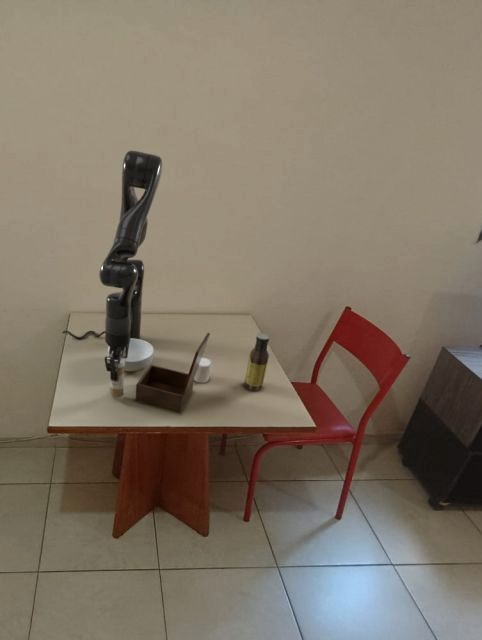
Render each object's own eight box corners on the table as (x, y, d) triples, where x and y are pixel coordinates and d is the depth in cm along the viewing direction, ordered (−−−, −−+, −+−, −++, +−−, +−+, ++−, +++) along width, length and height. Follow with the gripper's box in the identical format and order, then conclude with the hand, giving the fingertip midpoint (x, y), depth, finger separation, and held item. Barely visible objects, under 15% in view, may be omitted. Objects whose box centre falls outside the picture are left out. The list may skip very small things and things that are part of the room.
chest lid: (195, 351, 127) (198, 352, 127) (207, 332, 137) (210, 333, 137) (181, 394, 137) (183, 395, 137) (193, 373, 147) (195, 374, 147)
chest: (135, 401, 146) (136, 384, 142) (150, 380, 156) (151, 364, 152) (180, 413, 141) (182, 396, 137) (192, 391, 151) (194, 375, 147)
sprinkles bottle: (107, 394, 146) (107, 359, 138) (116, 388, 148) (116, 353, 141) (117, 400, 143) (118, 364, 136) (126, 394, 146) (127, 358, 139)
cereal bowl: (120, 350, 173) (120, 333, 169) (159, 360, 167) (161, 344, 164) (99, 370, 161) (99, 353, 157) (140, 382, 155) (141, 365, 151)
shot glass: (211, 375, 160) (214, 358, 156) (208, 385, 155) (210, 368, 151) (193, 371, 162) (195, 355, 158) (188, 381, 156) (191, 364, 152)
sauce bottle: (252, 379, 158) (263, 329, 147) (265, 388, 154) (278, 337, 143) (239, 384, 156) (249, 334, 144) (252, 393, 151) (264, 342, 140)
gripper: (116, 316, 139) (115, 363, 148) (95, 335, 128) (96, 384, 138) (138, 321, 137) (136, 368, 146) (119, 341, 126) (118, 390, 135)
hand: (117, 375), depth 142 cm, fingers closed on sprinkles bottle, 4 cm apart
